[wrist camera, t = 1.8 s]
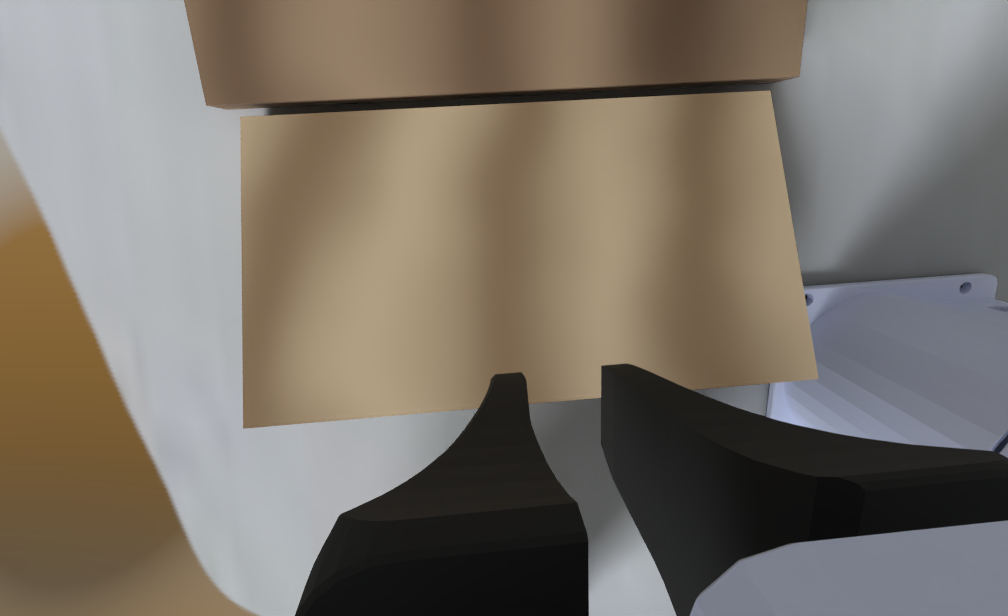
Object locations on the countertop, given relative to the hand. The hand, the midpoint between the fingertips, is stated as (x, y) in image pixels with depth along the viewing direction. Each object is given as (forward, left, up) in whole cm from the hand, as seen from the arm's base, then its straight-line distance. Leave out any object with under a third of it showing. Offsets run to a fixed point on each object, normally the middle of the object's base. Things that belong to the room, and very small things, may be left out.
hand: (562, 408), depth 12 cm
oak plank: (0, -2, -7) cm, 7 cm away
